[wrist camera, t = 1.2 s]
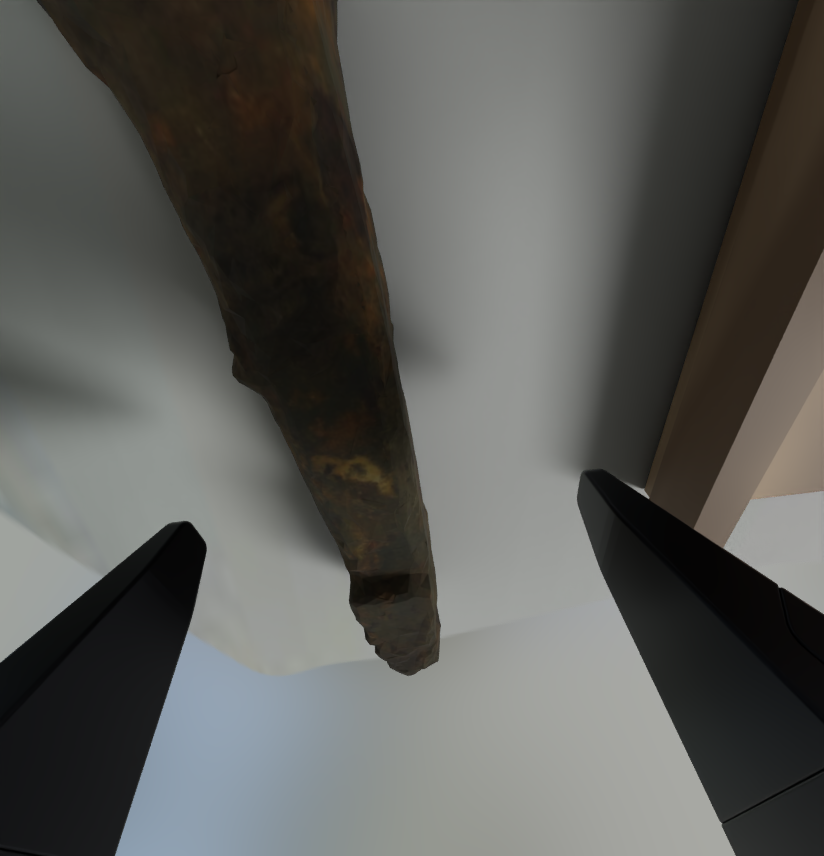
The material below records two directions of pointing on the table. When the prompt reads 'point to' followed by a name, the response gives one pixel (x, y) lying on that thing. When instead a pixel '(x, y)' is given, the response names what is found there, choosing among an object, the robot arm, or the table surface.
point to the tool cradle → (759, 320)
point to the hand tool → (285, 262)
